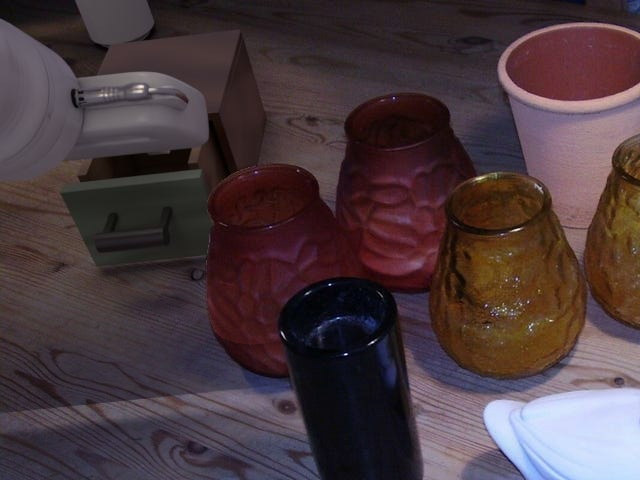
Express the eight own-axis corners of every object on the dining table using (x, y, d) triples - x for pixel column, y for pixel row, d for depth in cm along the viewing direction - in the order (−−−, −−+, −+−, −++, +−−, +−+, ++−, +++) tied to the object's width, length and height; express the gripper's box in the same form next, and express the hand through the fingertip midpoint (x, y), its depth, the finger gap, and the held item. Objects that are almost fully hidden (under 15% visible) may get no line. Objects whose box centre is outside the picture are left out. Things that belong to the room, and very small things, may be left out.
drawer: (220, 286, 82) (190, 209, 76) (84, 301, 82) (44, 225, 77) (247, 162, 94) (223, 88, 89) (128, 175, 95) (98, 102, 89)
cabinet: (248, 203, 91) (218, 111, 84) (113, 218, 91) (72, 128, 85) (266, 117, 101) (240, 28, 94) (144, 131, 102) (110, 44, 95)
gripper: (165, 33, 60) (231, 92, 74) (-167, 69, 61) (-39, 121, 74) (175, 138, 60) (239, 178, 74) (-156, 173, 61) (-31, 206, 74)
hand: (97, 149), depth 74 cm, fingers open, 8 cm apart
